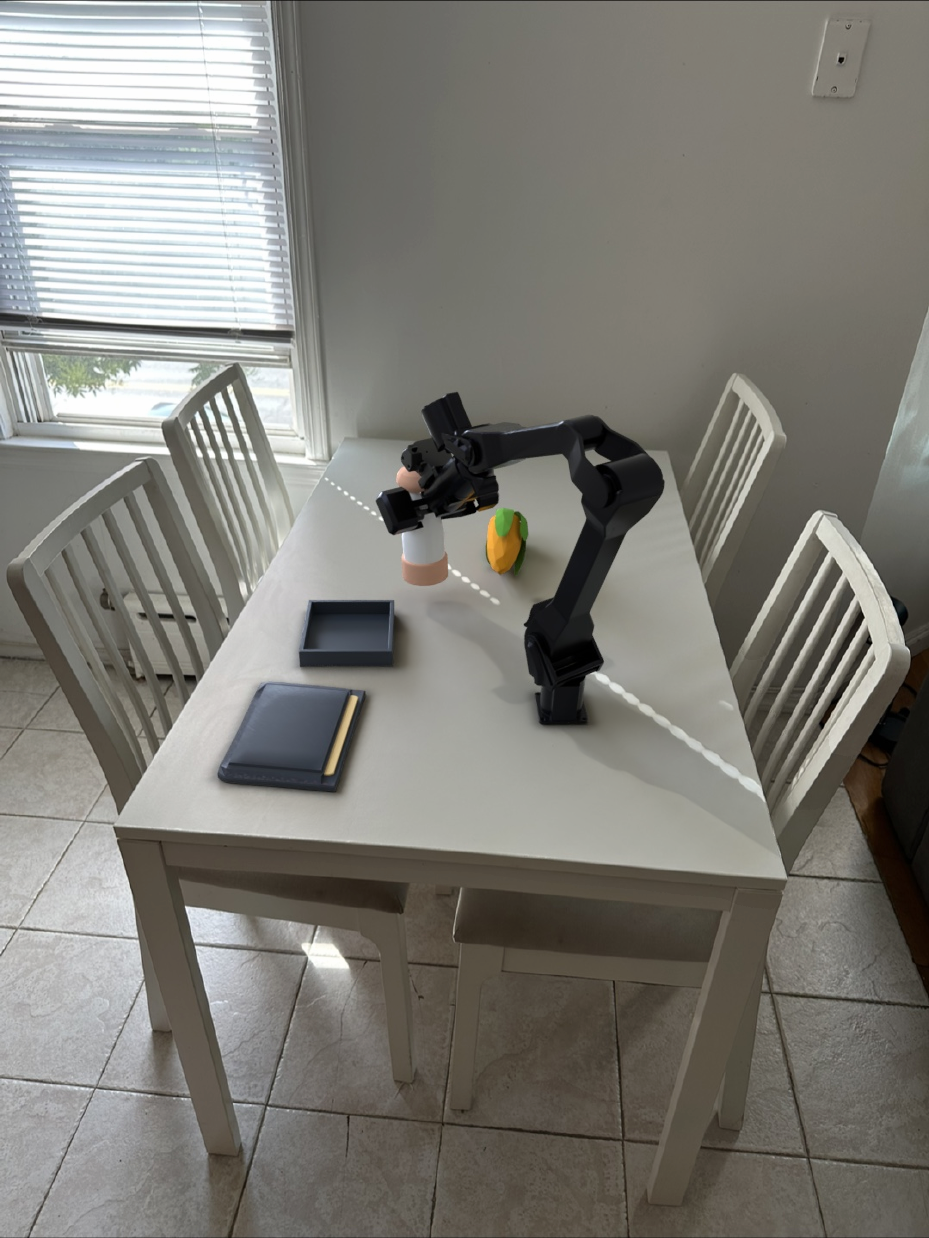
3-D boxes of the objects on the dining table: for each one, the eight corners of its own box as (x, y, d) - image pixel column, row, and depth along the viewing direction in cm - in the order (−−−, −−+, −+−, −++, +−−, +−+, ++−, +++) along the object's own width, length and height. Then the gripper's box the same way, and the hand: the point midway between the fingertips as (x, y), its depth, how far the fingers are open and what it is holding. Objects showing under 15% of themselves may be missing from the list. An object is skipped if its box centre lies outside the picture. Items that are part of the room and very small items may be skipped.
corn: (529, 497, 164) (525, 549, 147) (529, 535, 168) (526, 590, 151) (487, 497, 165) (479, 549, 148) (489, 535, 169) (481, 590, 152)
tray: (392, 666, 133) (392, 651, 131) (299, 666, 132) (298, 651, 130) (394, 614, 145) (394, 599, 143) (309, 614, 144) (308, 599, 142)
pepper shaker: (393, 576, 147) (383, 461, 137) (427, 560, 151) (420, 448, 141) (423, 591, 142) (416, 473, 132) (458, 574, 146) (453, 460, 137)
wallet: (261, 673, 127) (370, 683, 126) (262, 684, 128) (370, 695, 127) (209, 769, 110) (333, 783, 109) (210, 781, 111) (334, 795, 110)
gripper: (491, 416, 135) (448, 462, 148) (380, 440, 126) (345, 487, 139) (521, 484, 133) (475, 525, 147) (411, 513, 124) (373, 554, 138)
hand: (418, 521), depth 143 cm, fingers closed on pepper shaker, 5 cm apart
